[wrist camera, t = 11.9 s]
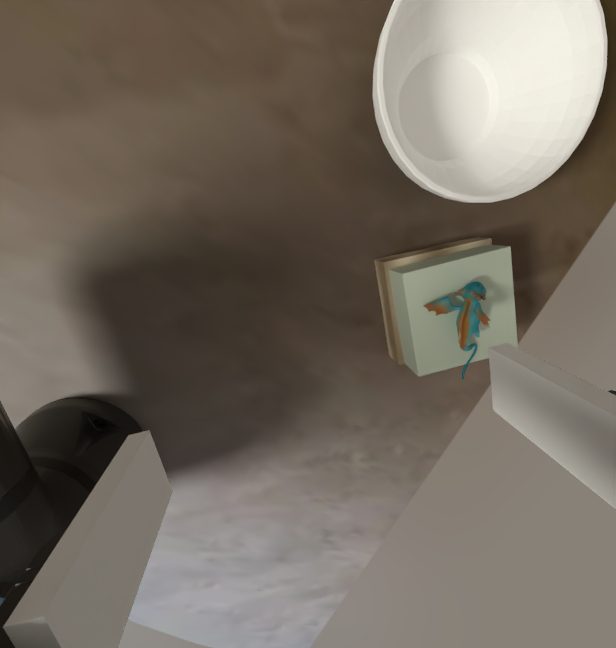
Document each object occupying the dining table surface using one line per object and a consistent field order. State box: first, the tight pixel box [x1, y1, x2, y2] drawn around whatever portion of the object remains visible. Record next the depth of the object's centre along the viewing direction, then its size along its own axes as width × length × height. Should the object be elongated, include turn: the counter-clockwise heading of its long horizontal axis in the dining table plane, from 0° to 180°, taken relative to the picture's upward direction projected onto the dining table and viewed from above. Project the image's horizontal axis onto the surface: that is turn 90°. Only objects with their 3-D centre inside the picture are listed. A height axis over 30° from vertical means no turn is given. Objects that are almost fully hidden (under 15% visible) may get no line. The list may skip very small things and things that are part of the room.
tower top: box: [389, 244, 518, 377], centre depth 38 cm, size 11×11×4 cm
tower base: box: [374, 237, 492, 366], centre depth 42 cm, size 12×12×4 cm
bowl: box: [372, 0, 607, 203], centre depth 34 cm, size 20×20×10 cm
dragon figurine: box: [424, 281, 490, 379], centre depth 36 cm, size 7×7×8 cm
